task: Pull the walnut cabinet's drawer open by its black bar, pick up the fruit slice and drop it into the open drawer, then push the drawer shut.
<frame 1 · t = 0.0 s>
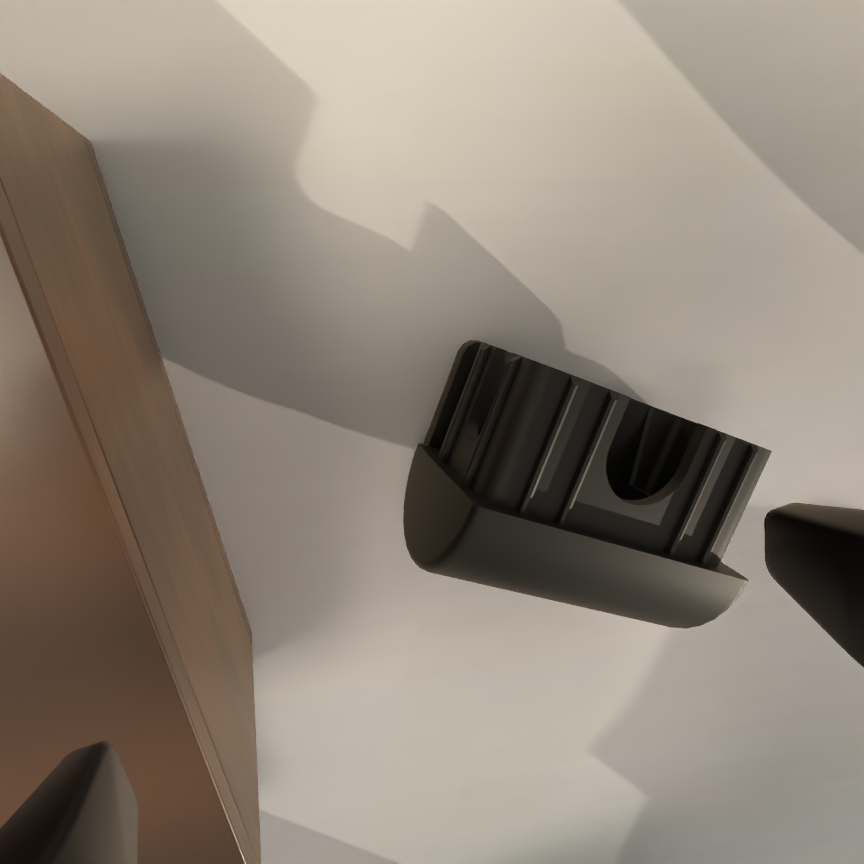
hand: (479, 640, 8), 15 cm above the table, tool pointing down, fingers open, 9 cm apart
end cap: (531, 460, 25), on the table
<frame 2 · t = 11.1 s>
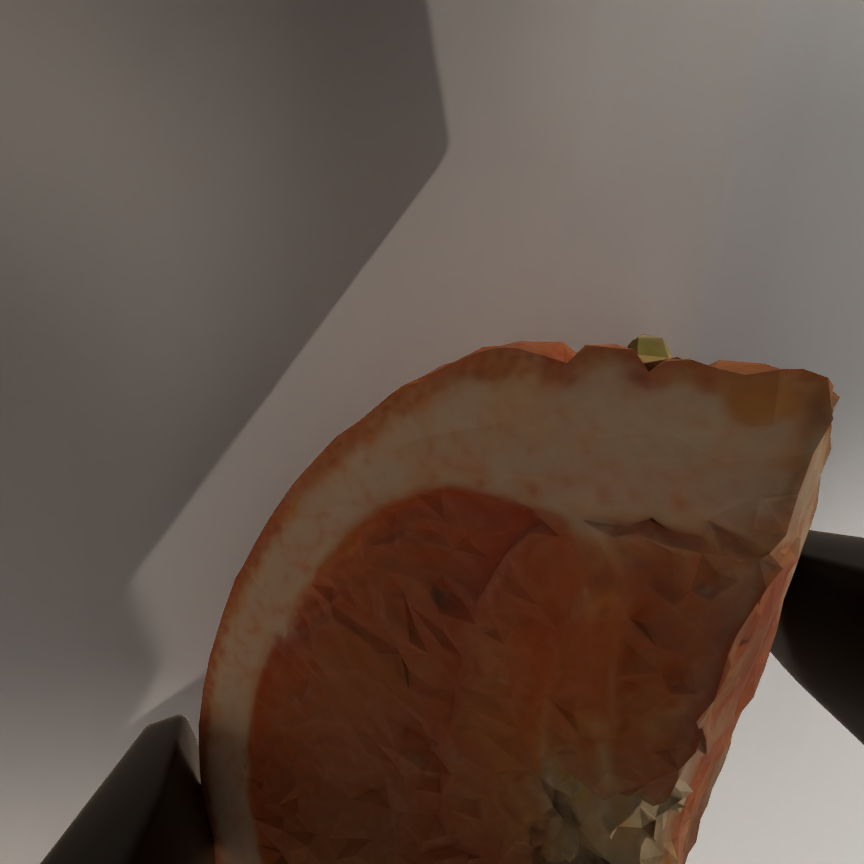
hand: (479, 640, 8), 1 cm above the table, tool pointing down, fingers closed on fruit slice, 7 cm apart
fruit slice: (454, 592, 10), on the table, touching gripper
when the fingers open (7 cm above the table, at t = 16.6 s): fruit slice drops 4 cm, resting on drawer.
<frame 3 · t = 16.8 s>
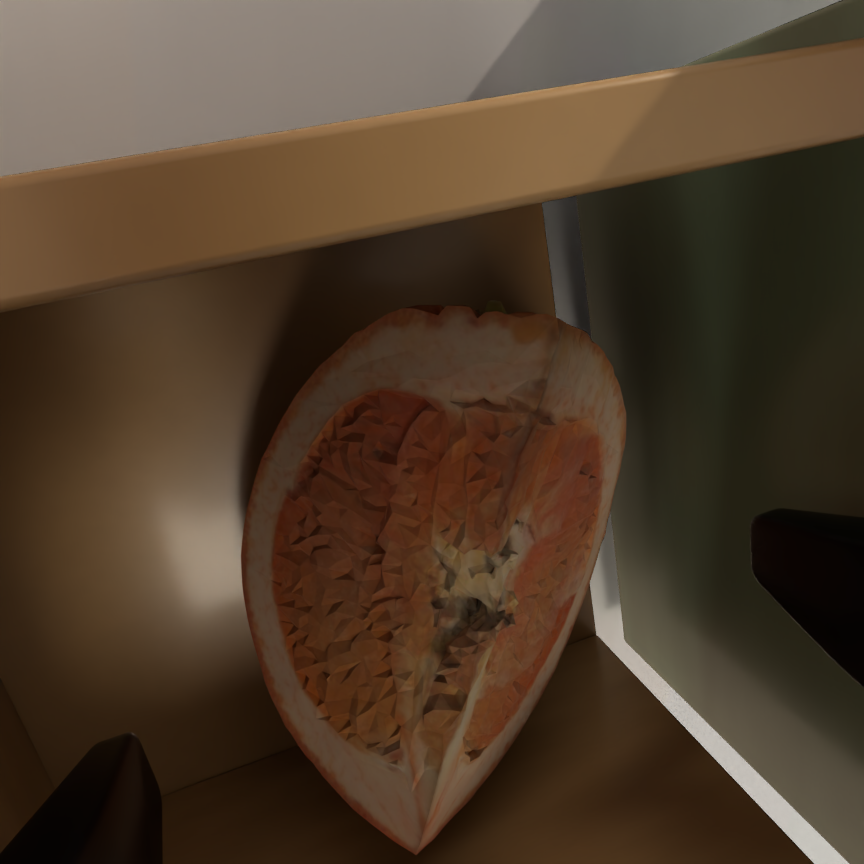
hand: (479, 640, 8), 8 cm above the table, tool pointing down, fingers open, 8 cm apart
drawer: (521, 536, 11), point 5 cm above the table, slide at 11.7 cm, touching fruit slice
fruit slice: (412, 486, 14), point 2 cm above the table, touching drawer
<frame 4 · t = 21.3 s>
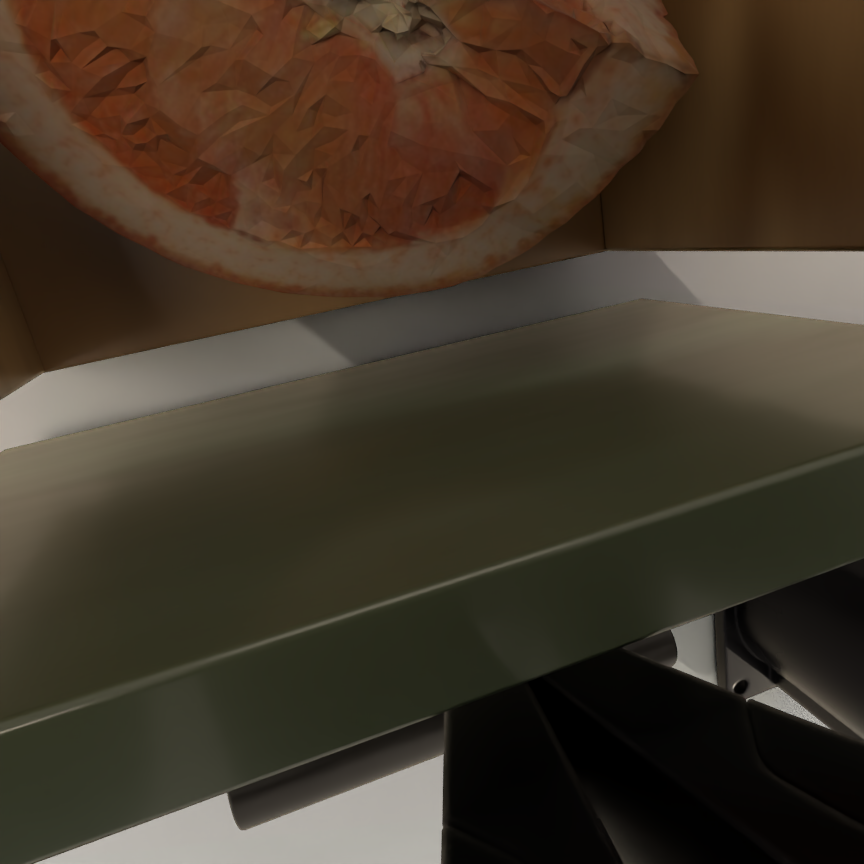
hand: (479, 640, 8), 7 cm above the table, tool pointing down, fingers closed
drawer: (348, 104, 8), point 5 cm above the table, slide at 11.2 cm, touching fruit slice, gripper
fruit slice: (298, 82, 11), point 2 cm above the table, touching drawer
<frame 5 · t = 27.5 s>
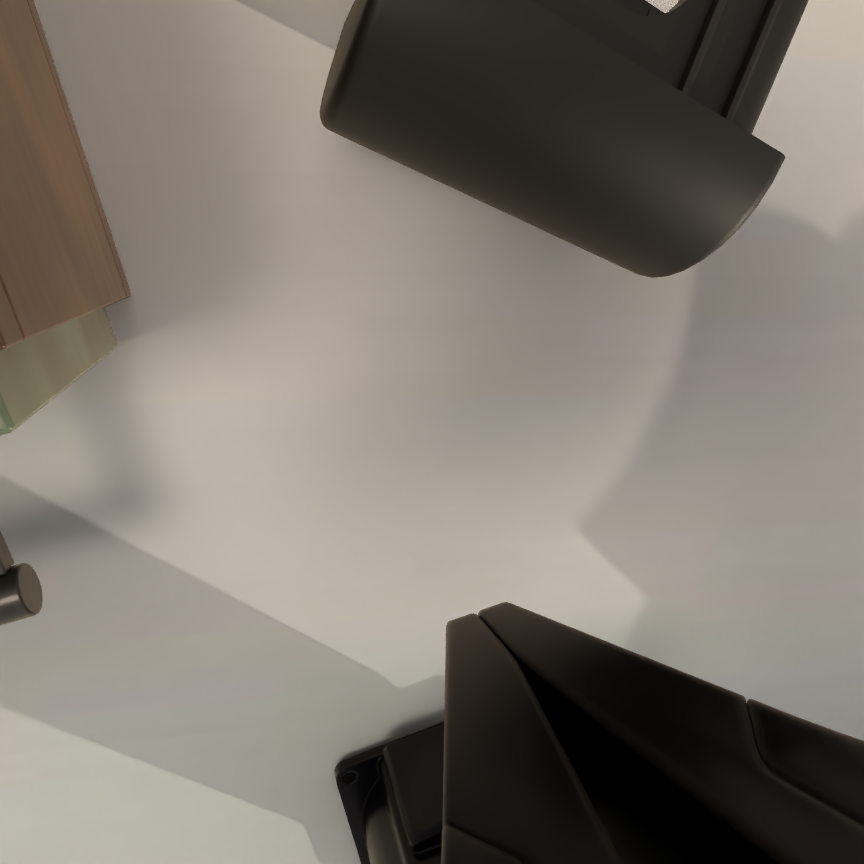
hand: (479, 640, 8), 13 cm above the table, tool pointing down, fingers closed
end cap: (499, 102, 20), on the table
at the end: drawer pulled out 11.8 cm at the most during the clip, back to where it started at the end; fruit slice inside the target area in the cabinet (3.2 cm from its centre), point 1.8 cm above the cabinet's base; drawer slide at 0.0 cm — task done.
